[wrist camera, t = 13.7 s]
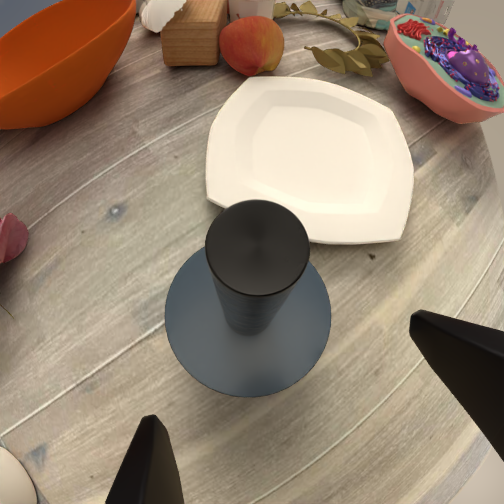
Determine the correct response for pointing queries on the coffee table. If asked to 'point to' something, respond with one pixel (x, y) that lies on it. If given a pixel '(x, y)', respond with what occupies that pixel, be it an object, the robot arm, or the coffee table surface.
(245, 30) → the apple
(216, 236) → the lid
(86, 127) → the coffee table surface
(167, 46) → the wooden block
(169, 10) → the pincushion
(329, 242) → the plate
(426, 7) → the ink box
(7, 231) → the flower
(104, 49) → the bowl
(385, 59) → the headpiece
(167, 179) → the coffee table surface
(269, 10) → the cup
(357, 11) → the running shoe
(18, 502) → the mug
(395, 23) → the cell model
